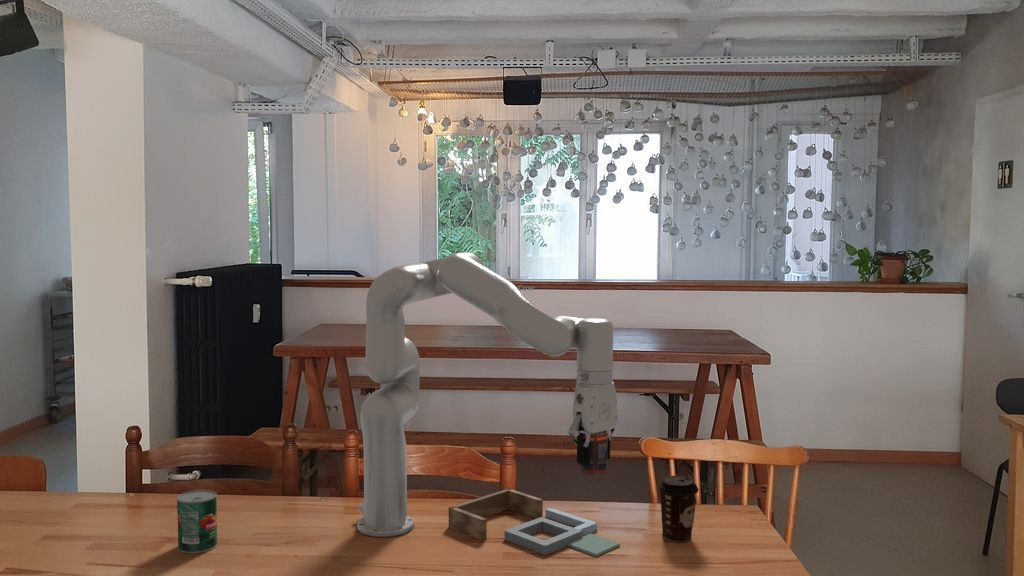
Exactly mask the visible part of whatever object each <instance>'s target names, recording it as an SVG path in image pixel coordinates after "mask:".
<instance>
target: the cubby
mask: <svg viewBox="0 0 1024 576" xmlns="http://www.w3.org/2000/svg"><path fill="white" fill-rule="evenodd" d="M543 500H544V499H542V498H539V497H537V496H534V495H531V494H527V493H525V492H521V491H519V490H518V491H517V490H515V489H511V488H505V489H502V490H500V491H496V492H494V493H490V494H487V495H484V496H481V497H477V498H474V499H472V500H468V501H465V502H462V503H459V504H458V503H457V504H455V505H453V506H450V507H448V528H451V529H453V530H455V531H458V532H461V533H463V534H465V533H466V535H468V534H469V535H468V536H470V535H472V536H471V537H473V536H474V537H473V538H475V537H477V538H476V539H478V538H479V539H478V540H481V539H482V540H481V541H485V540H487V539H488V536H487V535H488V534H487V533H488V532H487V531H488V528H487V527H488V524H487V523H488V521H487V520H488V519H487V518H486V517H489V516H492V515H495V514H498V513H501V512H503V511H507V510H510V511H513V512H516V511H517V513H519V512H520V513H519V514H522V513H524V514H523V515H525V514H526V516H528V515H529V516H528V517H531V516H532V518H534V517H535V518H534V519H537V518H540V517H543V518H544V516H543V513H544V512H543V508H544V504H543V503H544V501H543ZM500 511H501V512H500ZM497 512H498V513H497ZM494 513H495V514H494ZM491 514H492V515H491ZM488 515H489V516H488ZM485 516H486V517H485ZM486 538H487V539H486ZM484 539H485V540H484Z"/></svg>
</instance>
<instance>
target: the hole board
mask: <svg viewBox="0 0 1024 576" xmlns="http://www.w3.org/2000/svg"><path fill="white" fill-rule="evenodd" d="M540 530H541V531H543V530H544V532H546V531H547V532H546V533H549V534H551V535H555V536H552V537H550V538H547V539H545V540H544V539H541V538H539V537H536V536H533V534H535V533H534V532H536V533H538V532H541V531H540ZM503 532H504V539H506V540H505V541H507V540H508V541H507V542H510V541H511V542H510V543H512V542H513V543H512V544H515V543H516V544H515V545H517V544H518V545H517V546H520V545H521V546H520V547H523V546H524V548H525V547H526V548H525V549H528V548H529V550H530V549H531V551H533V550H534V551H533V552H535V553H538V552H539V553H538V554H541V555H544V556H546V555H549V554H551V553H552V554H553V553H554V552H556V551H558V550H561V549H563V548H565V547H568V546H567V543H569V542H572V541H574V540H576V539H579V538H581V537H583V536H582V531H581V530H578V529H575V528H574V527H573V526H570V525H568V524H565V523H562V522H559V521H556V520H553V519H552V520H551V519H550V518H547V517H544V516H543V517H540V518H534V519H533V520H529V521H527V522H524V523H522V524H519V525H516V526H514V527H510V528H508V529H505V530H504V531H503ZM532 533H533V534H532ZM530 534H531V535H530Z"/></svg>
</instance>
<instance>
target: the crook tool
mask: <svg viewBox="0 0 1024 576" xmlns="http://www.w3.org/2000/svg"><path fill="white" fill-rule="evenodd" d="M545 516H546V517H545V518H547V519H550V520H551V519H552V520H553V521H557V520H558V521H557V522H560V521H561V522H560V523H563V522H564V523H563V524H566V523H567V524H566V525H568V526H571V525H572V526H571V527H573V528H575V529H578V530H581V531H582V537H584V536H586V535H588V534H593V533H594V532H596V531H598V522H596V521H593V520H590V519H587V518H583V517H580V516H578V515H575V514H571V513H568V512H566V511H562V510H559V509H556V508H554V507H548V508H546V509H545ZM574 526H575V527H574Z"/></svg>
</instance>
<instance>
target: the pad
mask: <svg viewBox="0 0 1024 576" xmlns="http://www.w3.org/2000/svg"><path fill="white" fill-rule="evenodd" d="M566 547H568V548H572V549H574V550H577V551H580V552H582V553H586V554H588V555H591V556H594V557H596V558H597V557H599V556H601V555H603V554H606V553H608V552H610V551H613V550H614V549H617V548H619V547H621V543H620V542H617V541H615V540H611V539H609V538H606V537H603V536H599V535H597V534H594V533H589V534H587V535H585V536H582V537H581V538H579V539H576V540H574V541H572V542H569V543H567V546H566Z"/></svg>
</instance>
